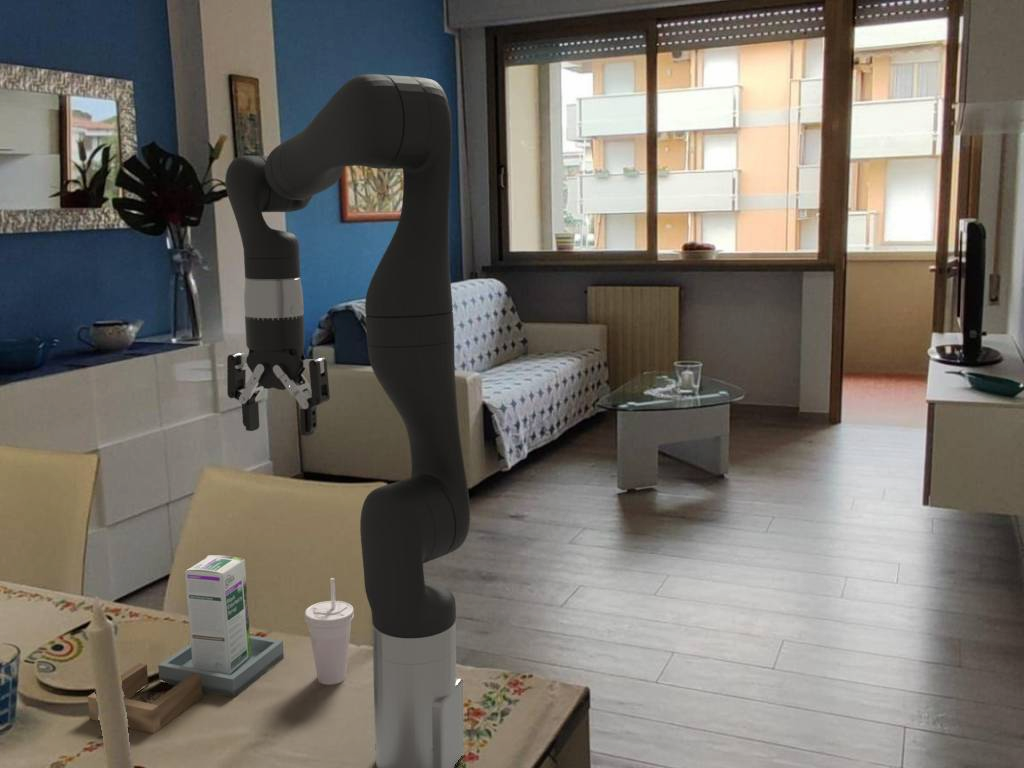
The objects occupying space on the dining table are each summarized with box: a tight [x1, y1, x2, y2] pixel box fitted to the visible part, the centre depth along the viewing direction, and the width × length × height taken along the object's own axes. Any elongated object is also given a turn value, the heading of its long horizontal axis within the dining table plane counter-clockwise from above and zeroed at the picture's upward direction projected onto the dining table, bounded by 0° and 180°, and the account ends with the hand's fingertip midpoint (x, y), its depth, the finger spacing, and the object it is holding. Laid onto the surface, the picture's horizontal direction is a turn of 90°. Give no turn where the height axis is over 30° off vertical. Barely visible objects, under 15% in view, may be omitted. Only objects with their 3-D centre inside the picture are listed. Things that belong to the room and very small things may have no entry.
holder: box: [87, 662, 203, 734], centre depth 122 cm, size 10×9×3 cm
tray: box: [157, 634, 285, 698], centre depth 131 cm, size 12×12×2 cm
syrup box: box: [184, 554, 251, 675], centre depth 130 cm, size 6×6×14 cm
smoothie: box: [304, 577, 355, 686], centre depth 128 cm, size 6×6×14 cm
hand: (279, 432), depth 130 cm, fingers open, 8 cm apart
